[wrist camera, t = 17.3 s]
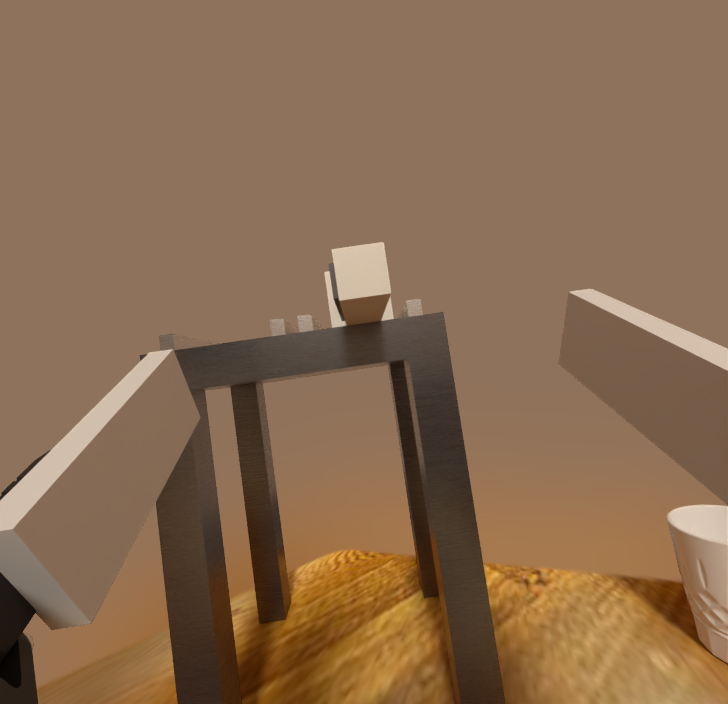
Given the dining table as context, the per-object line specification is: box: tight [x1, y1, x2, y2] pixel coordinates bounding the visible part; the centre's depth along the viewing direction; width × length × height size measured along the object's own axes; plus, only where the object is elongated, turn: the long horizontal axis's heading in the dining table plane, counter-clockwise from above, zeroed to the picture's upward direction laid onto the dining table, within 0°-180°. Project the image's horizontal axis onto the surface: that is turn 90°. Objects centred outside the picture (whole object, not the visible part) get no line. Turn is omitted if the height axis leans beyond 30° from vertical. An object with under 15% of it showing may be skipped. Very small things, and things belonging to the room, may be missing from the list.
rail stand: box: [140, 299, 505, 704], centre depth 35 cm, size 20×22×31 cm
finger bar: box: [325, 242, 394, 328], centre depth 27 cm, size 19×5×5 cm, turn 1°
